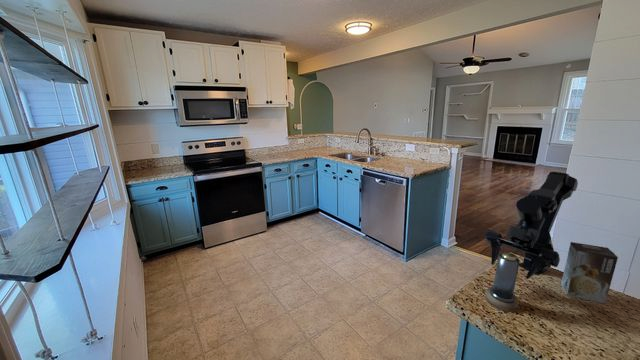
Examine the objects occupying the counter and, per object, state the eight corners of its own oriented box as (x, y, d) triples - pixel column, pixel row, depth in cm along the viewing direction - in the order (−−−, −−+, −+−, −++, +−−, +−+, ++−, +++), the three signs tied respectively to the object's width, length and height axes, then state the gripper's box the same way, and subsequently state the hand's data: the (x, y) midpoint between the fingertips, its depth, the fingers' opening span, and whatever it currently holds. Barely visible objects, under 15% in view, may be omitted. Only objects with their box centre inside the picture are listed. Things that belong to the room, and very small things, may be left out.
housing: (507, 289, 85) (514, 250, 81) (519, 303, 79) (528, 261, 75) (486, 288, 86) (492, 249, 82) (496, 302, 79) (503, 261, 76)
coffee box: (596, 292, 86) (609, 247, 81) (605, 304, 80) (620, 257, 76) (559, 284, 90) (570, 241, 86) (566, 295, 84) (577, 250, 80)
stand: (498, 289, 88) (499, 284, 87) (524, 307, 80) (525, 301, 79) (478, 295, 85) (479, 290, 85) (503, 314, 78) (504, 308, 77)
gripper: (490, 207, 87) (470, 248, 84) (565, 226, 72) (544, 277, 69) (497, 223, 94) (478, 261, 90) (567, 243, 79) (548, 290, 76)
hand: (508, 271), depth 81 cm, fingers open, 9 cm apart
